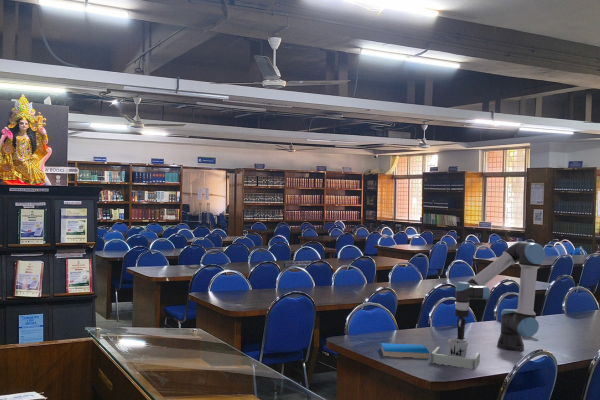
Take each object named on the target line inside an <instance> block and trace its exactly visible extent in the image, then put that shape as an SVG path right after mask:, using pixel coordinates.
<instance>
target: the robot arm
mask: <svg viewBox="0 0 600 400" xmlns="http://www.w3.org/2000/svg"><path fill="white" fill-rule="evenodd" d="M545 259H546V251H545V249H544V247H543V246H542V245H540V244H539V243H536V242H529V241H518V242H515V243H514V244H511V245H510V246H509V247H508V248H506V249H505V250H504V251H503V252H502V255H500V256H499V257H498V258H496V259H495V260H494V261H493V262H491V263H490V264H489V265H488V266H486V267H485V268H484V269H482V270H481V271H479V272H478V273H477V274H476V275H474V276H473V277H472V278H471V279H469V280H468V281H457V282H456V284H455V302H454V305H455V306H454V307H455V309H454V315H455V316H456V317H458V318H457V321H456V322H457V323H456V325H457V337H456V339H460V340H465V339H466V338H465V326H466V321H467V319H465V318H468V317H469V314H470V312H469V309H470V300H487V299H489V298H490V296H491V290H490V287H489V286H486V284H488V283H489V282H490V281H492V280H493V279H494V278H495V277H496V276H497V277H498V275H499V274H501V273H502V272H504V271H505V270H506V269H507V268H509V267H510V266H511V265H512V266H514V265H516V264H517V263H518V265H519V267H520V278H519V288H518V289H519V290H518V300H517V308H516V309H513V308H512V309H511V308H510V309H509V308H504V309H502V310H501V311H500V335H499V337H498V340H497V343H496V344H497V345H496V346H497V347H498V348H500V349H503V350H506V351H507V350H508V351H523V350H524V349H525V345H524V340H523V338H522V337H525V338H529V337H530V338H531V337H533V336H534V335H536V334H537V333H538V331H539V327H540V325H539V322H538V321H537V316H536V315H537V313H536V312H535V311H534V309H535V308H534V307H535V298H536V286H537V276H538V275H537V273H538V269H540V268H541V263H543V262H544V261H545Z"/></svg>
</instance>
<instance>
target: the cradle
mask: <svg viewBox="0 0 600 400" xmlns="http://www.w3.org/2000/svg"><path fill="white" fill-rule="evenodd" d="M480 355H481V352H479V351H477V352H475V355H474V357H473V358H470V357H469V358H468V357H465V358H463V357H456V356H450V354H449V355H448V354H442V353H441V346H436V348H435V349H433V350H432V352H431V353H430V364H434V363H436V364H435V365H441V364H444V365H443V366H448V365H451V366H450V367H454V366H458V367H457V368H461V367H464V368H463V369H468V368H470V370H474V369H475V370H476V369H477V367H478V366H477V365H479V364H480V360H481V356H480ZM478 363H479V364H478Z"/></svg>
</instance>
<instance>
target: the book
mask: <svg viewBox="0 0 600 400" xmlns="http://www.w3.org/2000/svg"><path fill="white" fill-rule="evenodd" d="M380 351H381V353H382V355H383V357H384V356H390V357H389V358H403V357H413V358H412V359H427V358H429V359H430V350H428V349H427V347H426V346H425V345H424V344H414V343H413V344H410V343H407V344H405V343H388V342H387V343H386V342H385V343H383V342H381V343H380Z"/></svg>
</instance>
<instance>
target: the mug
mask: <svg viewBox="0 0 600 400" xmlns="http://www.w3.org/2000/svg"><path fill="white" fill-rule="evenodd" d="M468 344H469V342H468V341H467V340H465V339H463V340H460V339H457V338H450V339H448V349H449V356H456V357H463V358H466V356H467V350H468Z"/></svg>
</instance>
